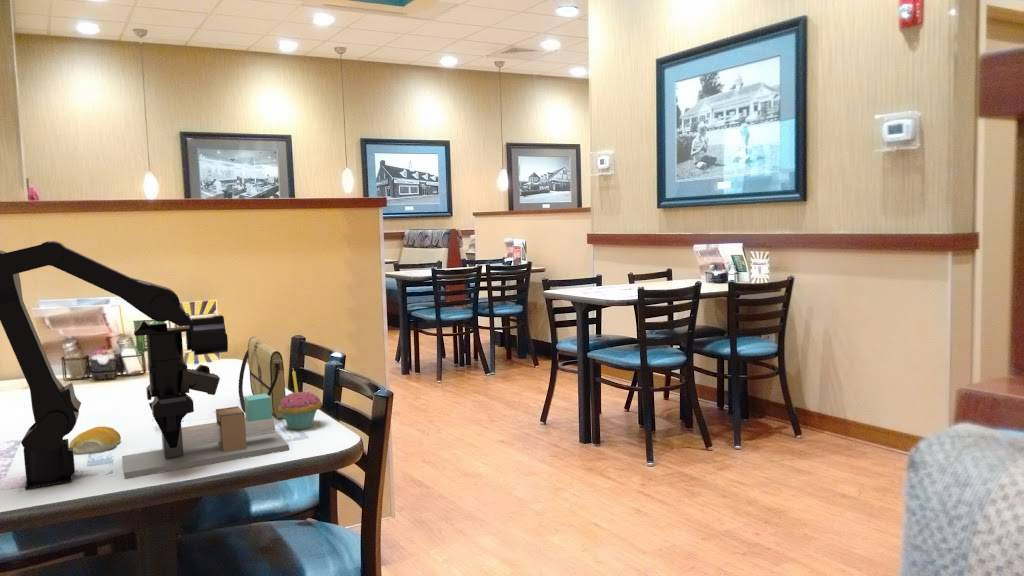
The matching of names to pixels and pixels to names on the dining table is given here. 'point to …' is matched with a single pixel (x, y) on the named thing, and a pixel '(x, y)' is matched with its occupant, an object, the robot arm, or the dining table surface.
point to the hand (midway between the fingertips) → (172, 444)
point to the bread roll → (95, 440)
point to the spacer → (258, 407)
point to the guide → (208, 448)
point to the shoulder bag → (264, 374)
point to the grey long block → (212, 435)
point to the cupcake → (299, 407)
